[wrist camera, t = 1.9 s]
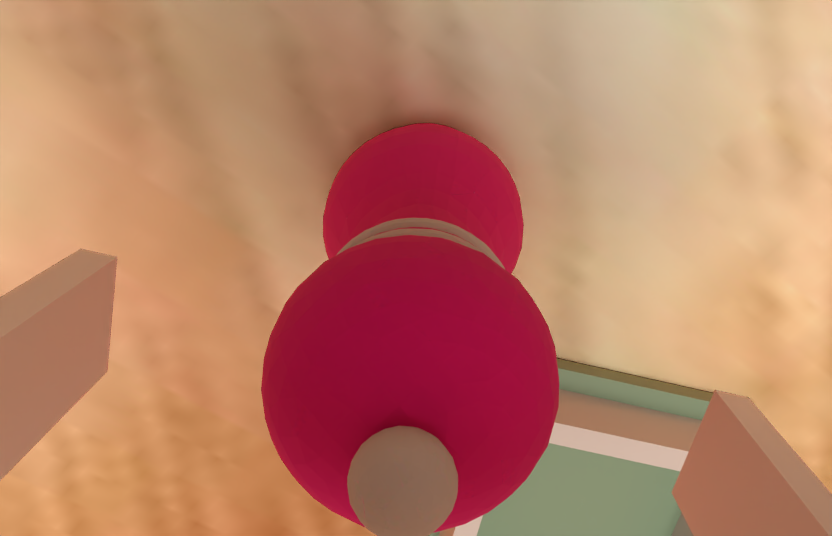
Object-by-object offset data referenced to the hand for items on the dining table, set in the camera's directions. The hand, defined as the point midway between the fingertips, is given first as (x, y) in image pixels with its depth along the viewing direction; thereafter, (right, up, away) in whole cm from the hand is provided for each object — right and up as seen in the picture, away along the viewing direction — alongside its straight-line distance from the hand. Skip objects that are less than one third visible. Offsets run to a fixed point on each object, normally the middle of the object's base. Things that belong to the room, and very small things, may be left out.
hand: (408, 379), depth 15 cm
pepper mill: (+1, +6, +14) cm, 15 cm away
